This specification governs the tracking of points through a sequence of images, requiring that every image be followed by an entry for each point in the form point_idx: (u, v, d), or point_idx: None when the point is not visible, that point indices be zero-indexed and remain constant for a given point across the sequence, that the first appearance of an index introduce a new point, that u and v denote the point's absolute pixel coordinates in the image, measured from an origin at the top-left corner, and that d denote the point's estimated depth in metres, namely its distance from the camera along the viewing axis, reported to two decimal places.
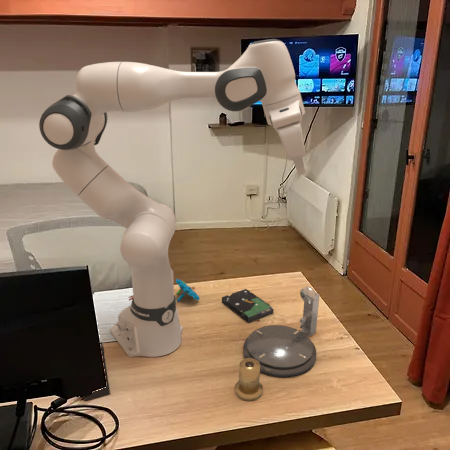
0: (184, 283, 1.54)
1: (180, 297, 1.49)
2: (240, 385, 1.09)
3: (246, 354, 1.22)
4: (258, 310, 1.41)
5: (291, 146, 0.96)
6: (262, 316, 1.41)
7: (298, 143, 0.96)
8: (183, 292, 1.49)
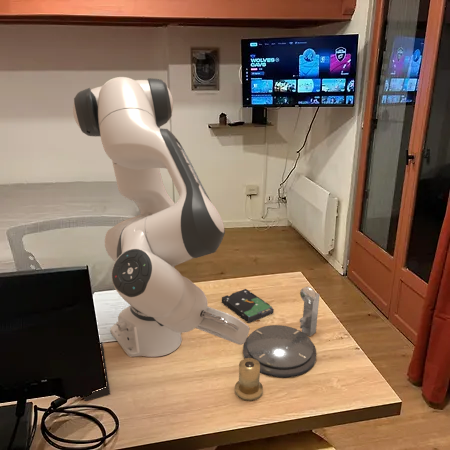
0: None
1: None
2: (240, 385, 1.09)
3: (246, 354, 1.22)
4: (258, 310, 1.41)
5: None
6: (262, 316, 1.41)
7: None
8: None
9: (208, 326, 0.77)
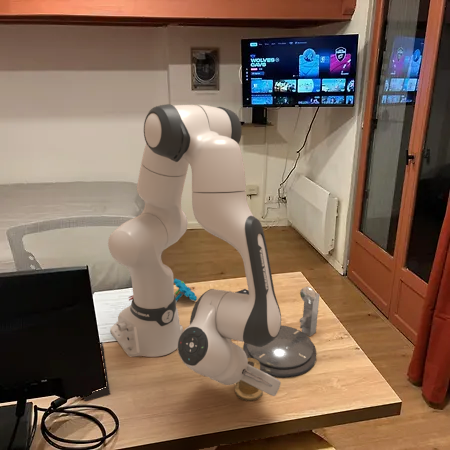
0: (183, 283, 1.54)
1: (177, 297, 1.49)
2: (240, 384, 1.09)
3: (246, 354, 1.22)
4: None
5: None
6: None
7: None
8: (180, 292, 1.49)
9: (248, 382, 0.97)
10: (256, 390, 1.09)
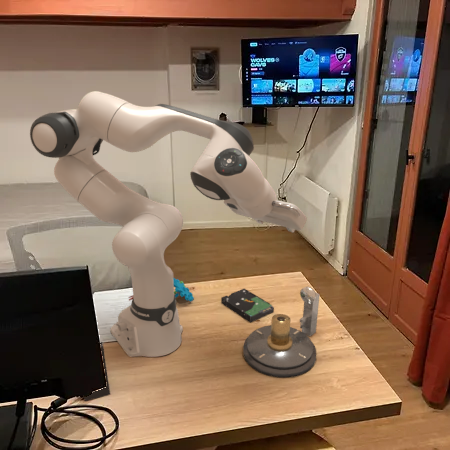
0: (182, 283, 1.54)
1: None
2: (272, 337, 1.22)
3: (246, 354, 1.22)
4: (259, 309, 1.42)
5: None
6: (263, 315, 1.42)
7: None
8: (177, 292, 1.49)
9: (277, 212, 1.05)
10: (287, 342, 1.21)
